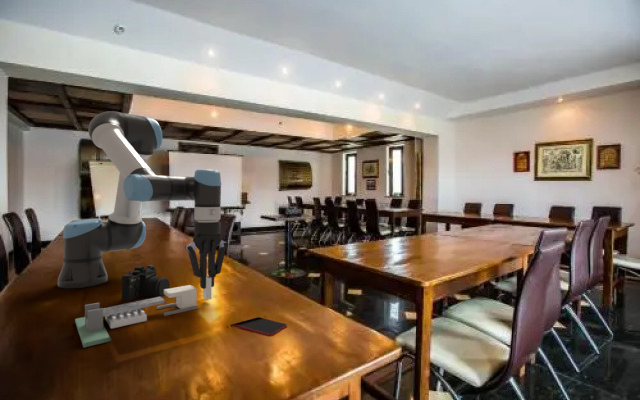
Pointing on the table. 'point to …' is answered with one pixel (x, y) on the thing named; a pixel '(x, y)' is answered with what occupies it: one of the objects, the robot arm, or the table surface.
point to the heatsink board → (91, 335)
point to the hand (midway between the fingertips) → (207, 298)
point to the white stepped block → (182, 296)
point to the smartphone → (261, 326)
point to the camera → (143, 283)
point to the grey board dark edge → (132, 306)
